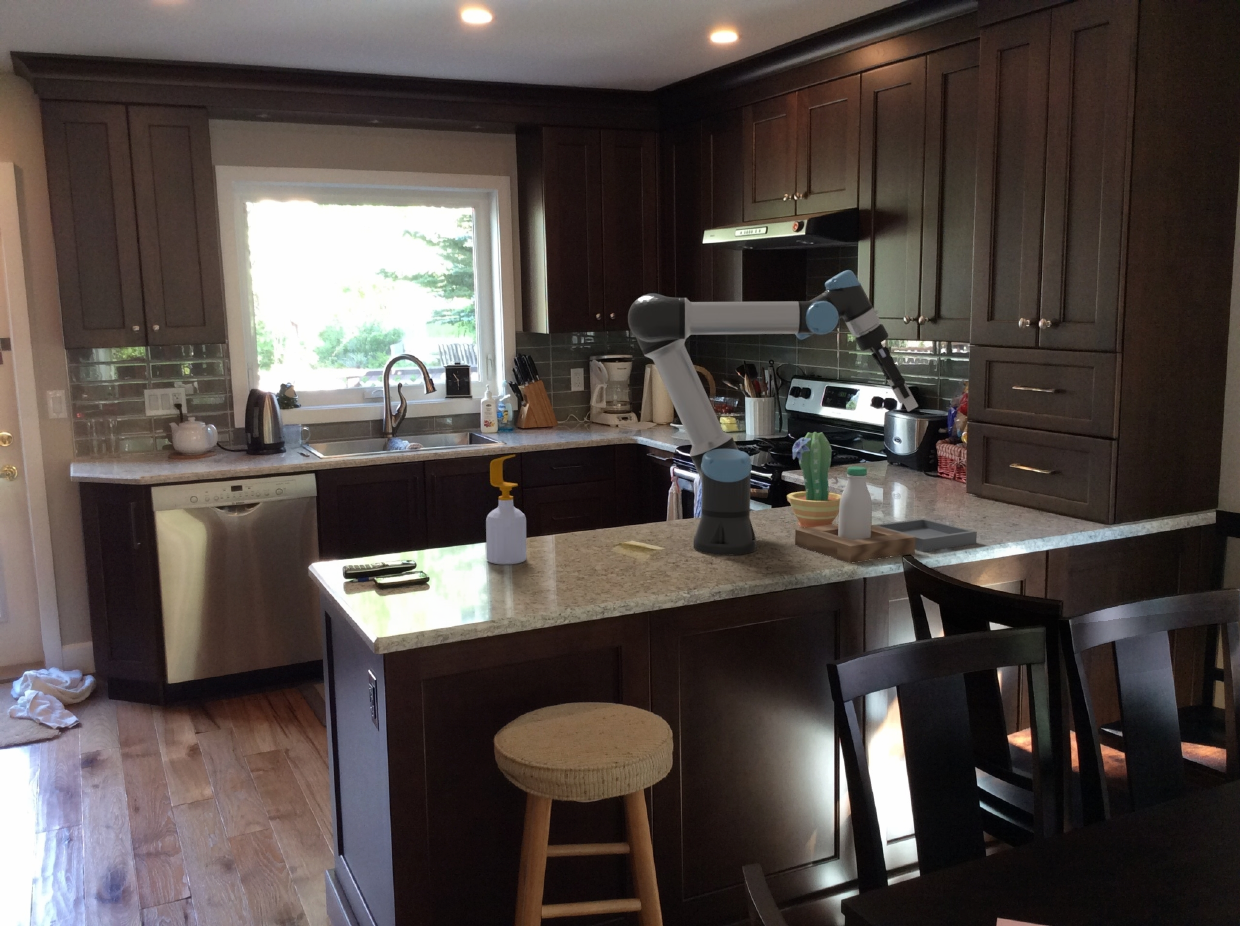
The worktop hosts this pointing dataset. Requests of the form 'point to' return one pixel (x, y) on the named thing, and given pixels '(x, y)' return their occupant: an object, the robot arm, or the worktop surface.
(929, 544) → the tray
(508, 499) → the soap bottle
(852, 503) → the milk bottle
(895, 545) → the block
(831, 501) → the potted cactus
